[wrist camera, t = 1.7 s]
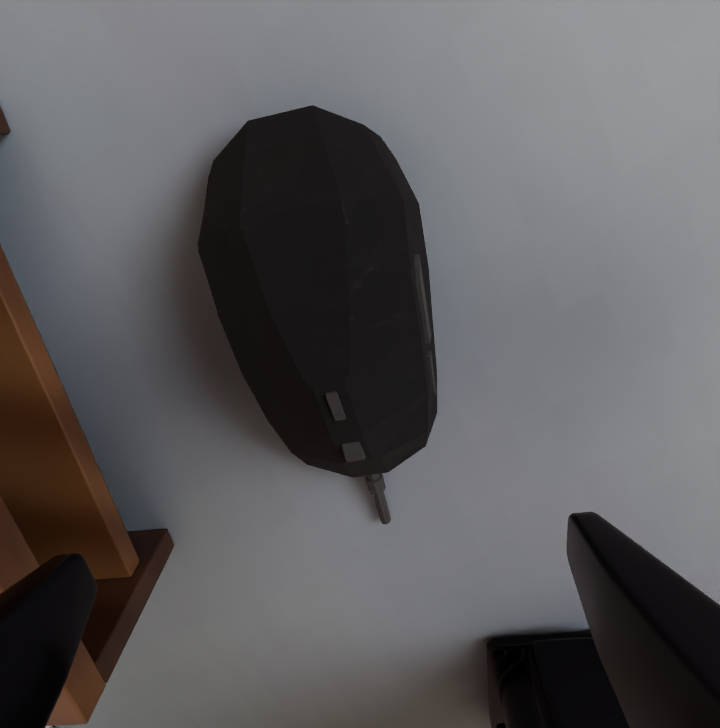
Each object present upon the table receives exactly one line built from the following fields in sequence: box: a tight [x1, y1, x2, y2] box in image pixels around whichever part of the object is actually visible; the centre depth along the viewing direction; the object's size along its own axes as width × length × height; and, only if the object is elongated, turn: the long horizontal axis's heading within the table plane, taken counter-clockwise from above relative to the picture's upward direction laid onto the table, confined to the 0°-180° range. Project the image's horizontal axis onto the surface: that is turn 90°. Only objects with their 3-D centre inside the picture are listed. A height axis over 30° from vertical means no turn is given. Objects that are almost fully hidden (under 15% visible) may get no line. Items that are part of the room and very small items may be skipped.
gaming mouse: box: [198, 106, 437, 524], centre depth 15 cm, size 6×15×4 cm, turn 12°
